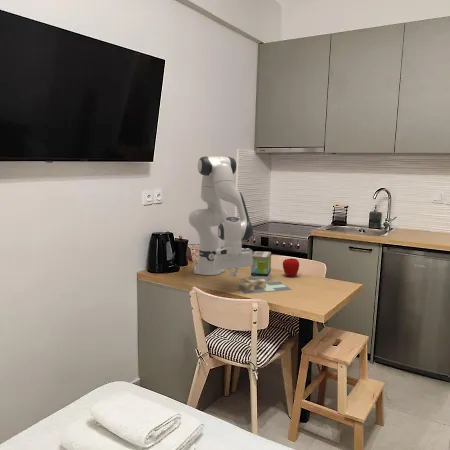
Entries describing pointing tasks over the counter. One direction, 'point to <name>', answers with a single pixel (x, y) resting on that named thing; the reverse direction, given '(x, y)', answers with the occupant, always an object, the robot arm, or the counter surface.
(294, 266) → the apple
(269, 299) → the counter surface
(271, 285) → the mat
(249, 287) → the tee
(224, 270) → the robot arm
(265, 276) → the tea box
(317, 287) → the counter surface
